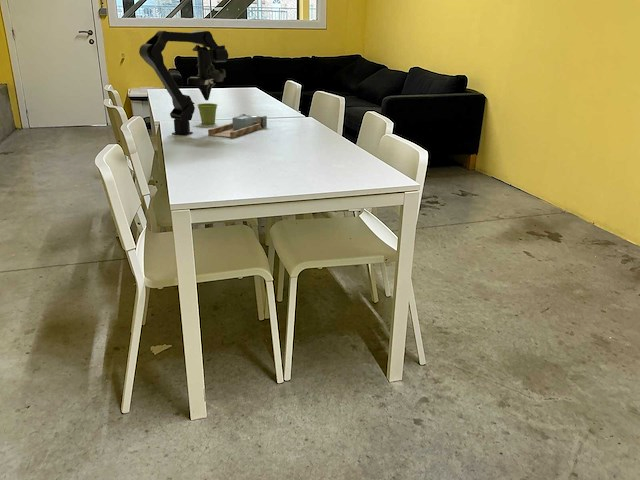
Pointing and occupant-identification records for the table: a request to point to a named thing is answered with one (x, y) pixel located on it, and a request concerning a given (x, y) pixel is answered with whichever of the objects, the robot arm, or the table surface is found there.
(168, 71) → the robot arm
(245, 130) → the brown tray
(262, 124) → the winch drum
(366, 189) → the table surface
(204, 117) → the plant pot
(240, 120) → the grey box
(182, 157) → the table surface
